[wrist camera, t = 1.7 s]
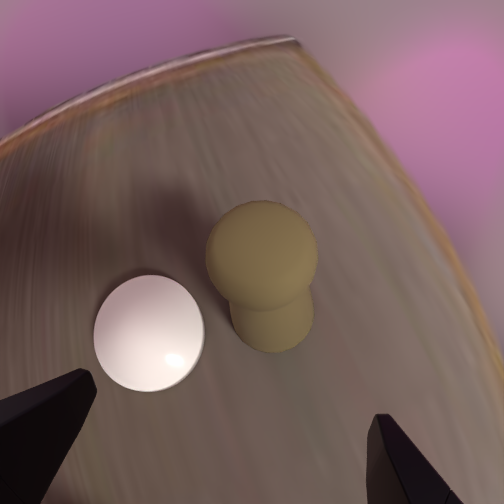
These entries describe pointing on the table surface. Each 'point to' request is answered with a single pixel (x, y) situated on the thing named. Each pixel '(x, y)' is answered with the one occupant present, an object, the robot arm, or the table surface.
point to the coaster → (149, 334)
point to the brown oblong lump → (265, 273)
